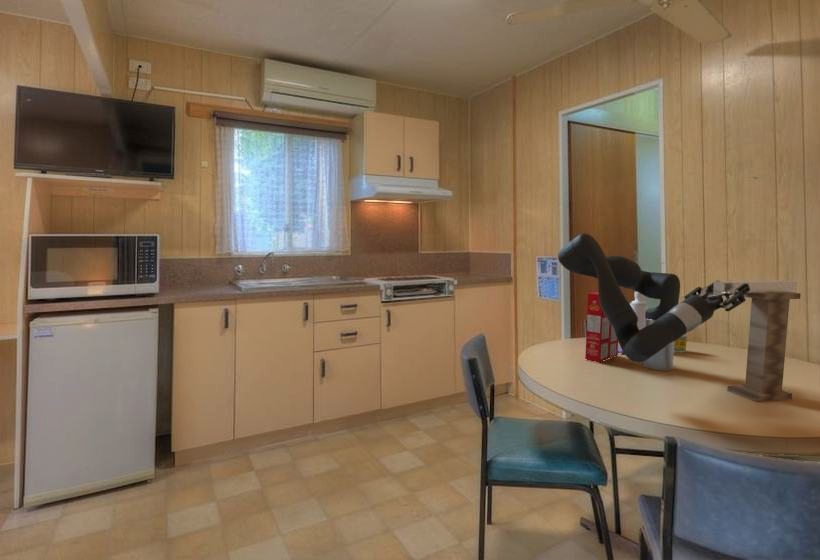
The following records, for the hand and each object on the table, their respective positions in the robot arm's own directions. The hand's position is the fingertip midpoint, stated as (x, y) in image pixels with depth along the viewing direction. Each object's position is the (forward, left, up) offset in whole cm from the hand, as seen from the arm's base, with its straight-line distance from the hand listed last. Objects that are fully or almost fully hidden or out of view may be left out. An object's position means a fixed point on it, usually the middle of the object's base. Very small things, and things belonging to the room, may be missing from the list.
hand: (733, 284), depth 122 cm
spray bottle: (-20, +54, -32) cm, 66 cm away
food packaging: (-33, +31, -32) cm, 55 cm away
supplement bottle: (-5, +56, -32) cm, 65 cm away
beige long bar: (+6, +4, -2) cm, 8 cm away
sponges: (-30, +46, -33) cm, 64 cm away
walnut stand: (+9, +7, -32) cm, 34 cm away
